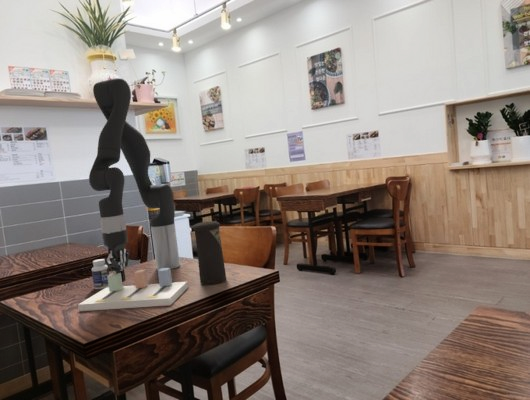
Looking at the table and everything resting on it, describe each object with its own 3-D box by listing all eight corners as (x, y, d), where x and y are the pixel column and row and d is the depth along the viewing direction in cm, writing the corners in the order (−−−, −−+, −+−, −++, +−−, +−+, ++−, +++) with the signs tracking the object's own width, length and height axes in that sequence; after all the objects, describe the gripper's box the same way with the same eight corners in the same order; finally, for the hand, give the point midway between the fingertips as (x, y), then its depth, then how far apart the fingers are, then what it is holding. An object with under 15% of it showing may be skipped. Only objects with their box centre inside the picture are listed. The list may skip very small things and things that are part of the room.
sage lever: (114, 288, 131) (111, 273, 130) (122, 287, 130) (120, 272, 130) (109, 291, 128) (107, 276, 127) (118, 290, 127) (116, 275, 127)
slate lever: (163, 283, 130) (161, 268, 129) (172, 282, 129) (170, 267, 129) (159, 286, 127) (157, 270, 126) (168, 285, 127) (166, 270, 126)
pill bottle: (105, 289, 140) (100, 261, 139) (91, 290, 141) (86, 262, 140) (113, 284, 145) (109, 257, 144) (100, 285, 146) (96, 258, 145)
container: (229, 281, 132) (222, 220, 130) (202, 287, 129) (195, 225, 127) (222, 275, 140) (215, 218, 138) (197, 281, 137) (189, 222, 135)
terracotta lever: (139, 285, 131) (137, 270, 131) (148, 284, 131) (146, 269, 130) (135, 288, 128) (133, 272, 128) (144, 287, 128) (142, 272, 127)
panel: (106, 293, 134) (106, 287, 134) (188, 287, 131) (187, 281, 130) (79, 311, 119) (78, 304, 118) (170, 305, 115) (169, 297, 115)
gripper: (113, 227, 138) (120, 277, 140) (92, 234, 125) (100, 289, 127) (134, 225, 137) (141, 275, 139) (115, 232, 124) (122, 287, 126)
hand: (121, 281), depth 133 cm, fingers closed
